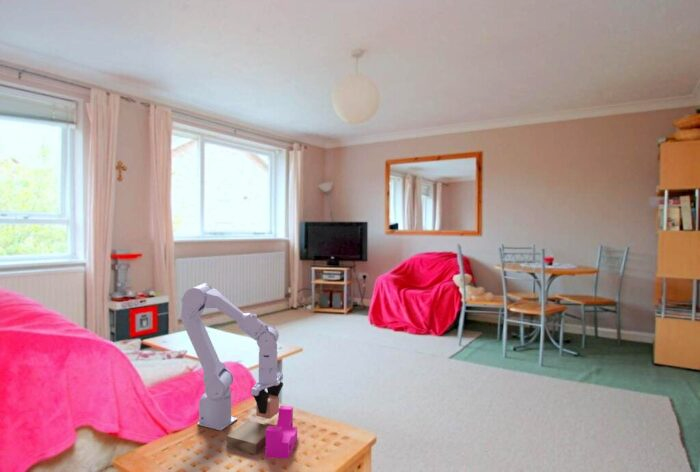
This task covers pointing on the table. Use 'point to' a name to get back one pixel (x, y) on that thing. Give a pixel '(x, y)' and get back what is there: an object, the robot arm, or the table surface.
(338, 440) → the table surface
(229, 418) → the robot arm
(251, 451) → the taupe block
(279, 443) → the toy block
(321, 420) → the table surface
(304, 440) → the table surface
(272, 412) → the terracotta cube
